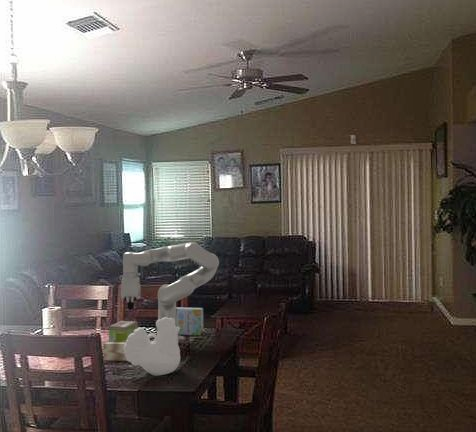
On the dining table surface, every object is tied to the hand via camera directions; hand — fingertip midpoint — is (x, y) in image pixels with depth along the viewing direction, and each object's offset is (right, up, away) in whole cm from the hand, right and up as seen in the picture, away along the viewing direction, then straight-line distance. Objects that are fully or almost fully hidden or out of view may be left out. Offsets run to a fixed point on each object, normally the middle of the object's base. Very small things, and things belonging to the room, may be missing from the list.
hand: (130, 309), depth 309 cm
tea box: (-1, -19, -16) cm, 25 cm away
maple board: (-1, -19, -30) cm, 35 cm away
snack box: (+27, -18, +25) cm, 41 cm away
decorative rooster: (+19, -20, -53) cm, 60 cm away
